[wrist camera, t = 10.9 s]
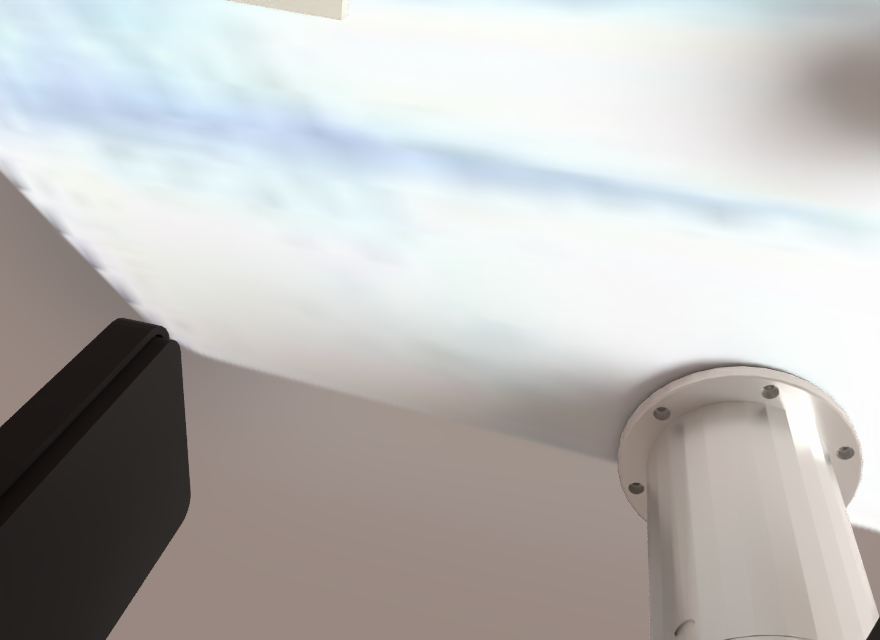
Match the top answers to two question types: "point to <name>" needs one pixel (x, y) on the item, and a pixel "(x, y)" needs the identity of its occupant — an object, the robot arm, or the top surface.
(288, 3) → the socket board
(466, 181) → the top surface
